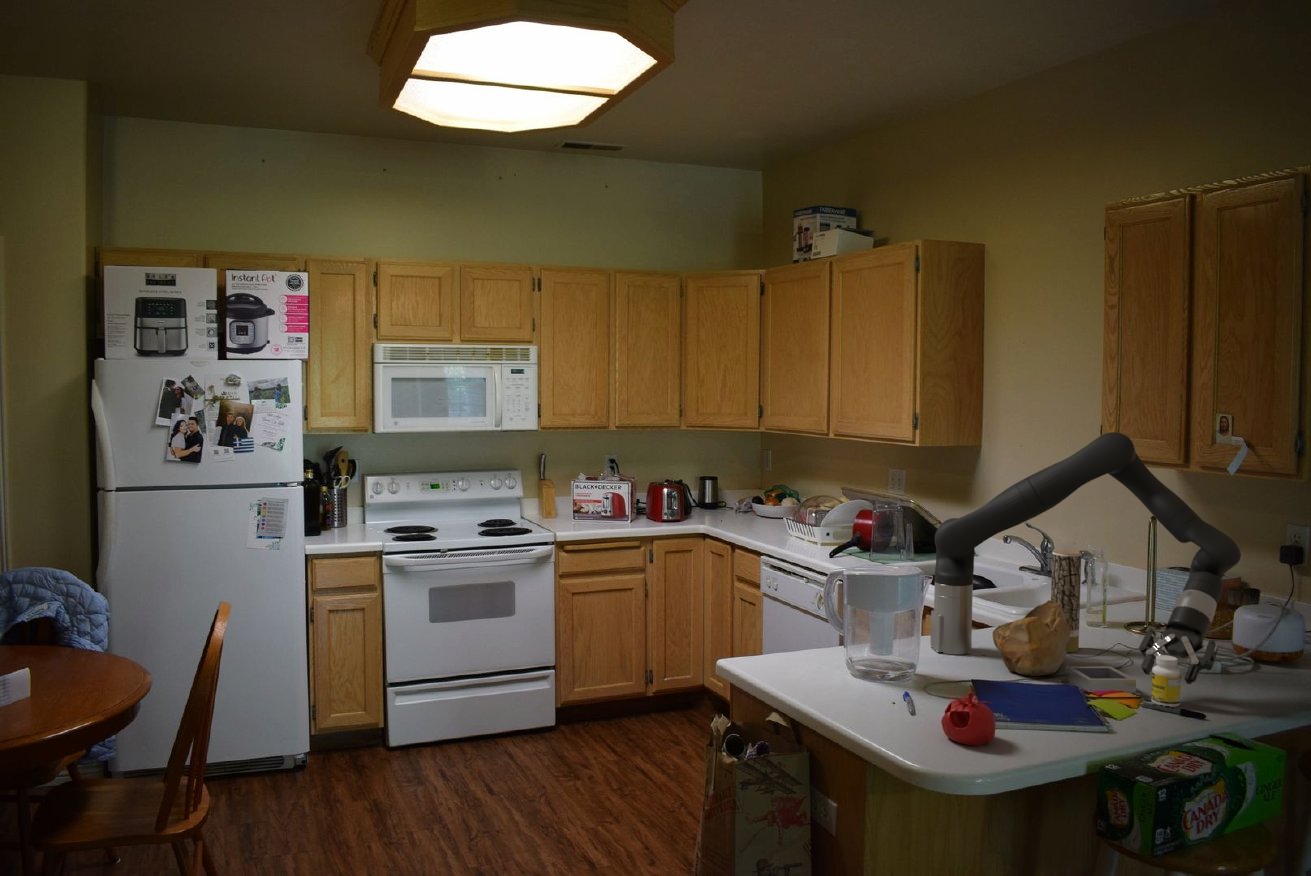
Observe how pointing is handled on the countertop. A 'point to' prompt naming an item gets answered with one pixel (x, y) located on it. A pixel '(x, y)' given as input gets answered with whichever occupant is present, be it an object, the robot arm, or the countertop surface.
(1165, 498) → the robot arm
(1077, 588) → the brown bark log
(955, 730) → the pomegranate
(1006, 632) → the rough brown rock
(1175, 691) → the supplement bottle
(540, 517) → the countertop surface
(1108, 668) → the shallow grey tray
